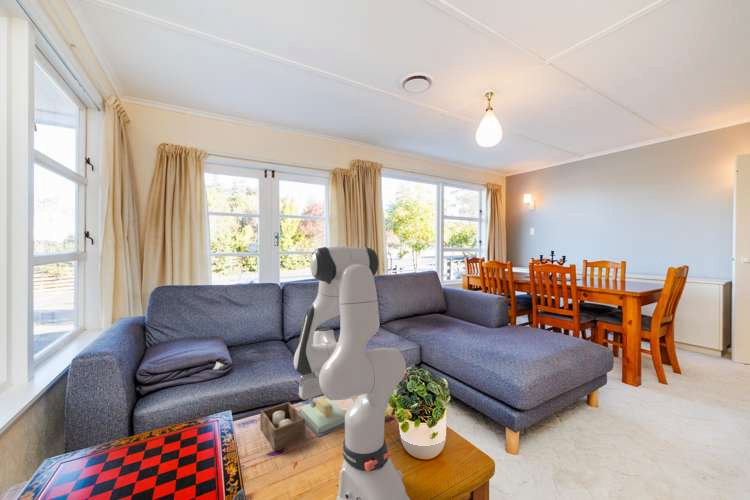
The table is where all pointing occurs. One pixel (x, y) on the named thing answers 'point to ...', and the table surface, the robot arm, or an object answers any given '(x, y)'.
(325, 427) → the lid
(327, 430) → the mat
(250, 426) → the table surface
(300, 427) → the box
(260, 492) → the table surface
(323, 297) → the robot arm
